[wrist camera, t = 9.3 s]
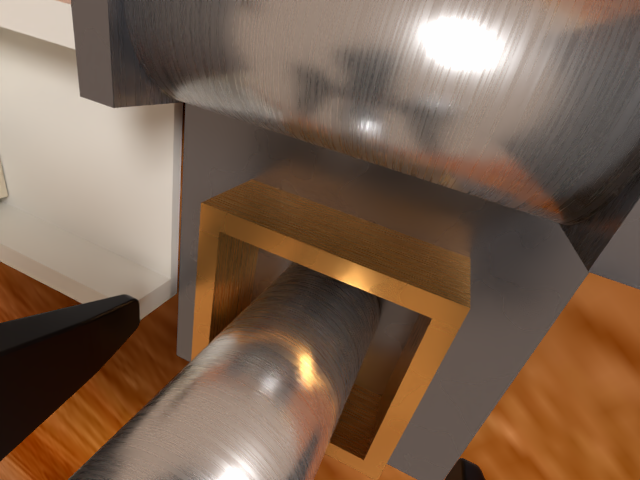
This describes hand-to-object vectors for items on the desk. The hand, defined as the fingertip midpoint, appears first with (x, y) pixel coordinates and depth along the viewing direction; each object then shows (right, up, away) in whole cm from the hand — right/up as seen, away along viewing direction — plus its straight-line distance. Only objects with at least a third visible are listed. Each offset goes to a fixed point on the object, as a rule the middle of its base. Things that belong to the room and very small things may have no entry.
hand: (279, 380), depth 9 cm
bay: (-12, +9, +6) cm, 16 cm away
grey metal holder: (+2, +3, +2) cm, 4 cm away
